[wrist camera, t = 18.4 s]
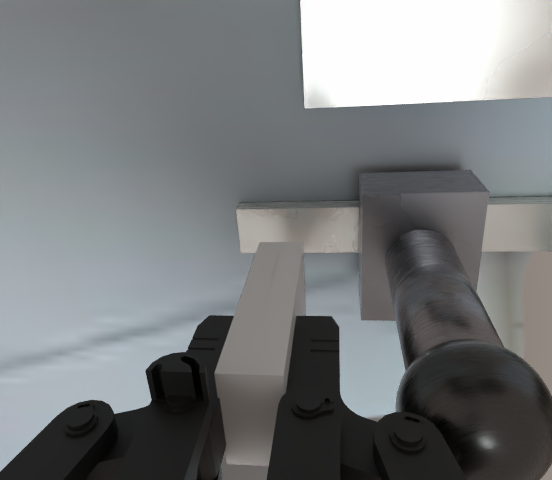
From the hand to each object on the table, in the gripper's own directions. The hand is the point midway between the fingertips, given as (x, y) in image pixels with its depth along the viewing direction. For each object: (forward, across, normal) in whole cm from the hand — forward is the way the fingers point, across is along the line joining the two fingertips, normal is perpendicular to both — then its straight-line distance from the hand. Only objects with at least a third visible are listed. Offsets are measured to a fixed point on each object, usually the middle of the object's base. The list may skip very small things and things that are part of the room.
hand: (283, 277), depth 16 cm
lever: (+3, +5, 0) cm, 6 cm away
